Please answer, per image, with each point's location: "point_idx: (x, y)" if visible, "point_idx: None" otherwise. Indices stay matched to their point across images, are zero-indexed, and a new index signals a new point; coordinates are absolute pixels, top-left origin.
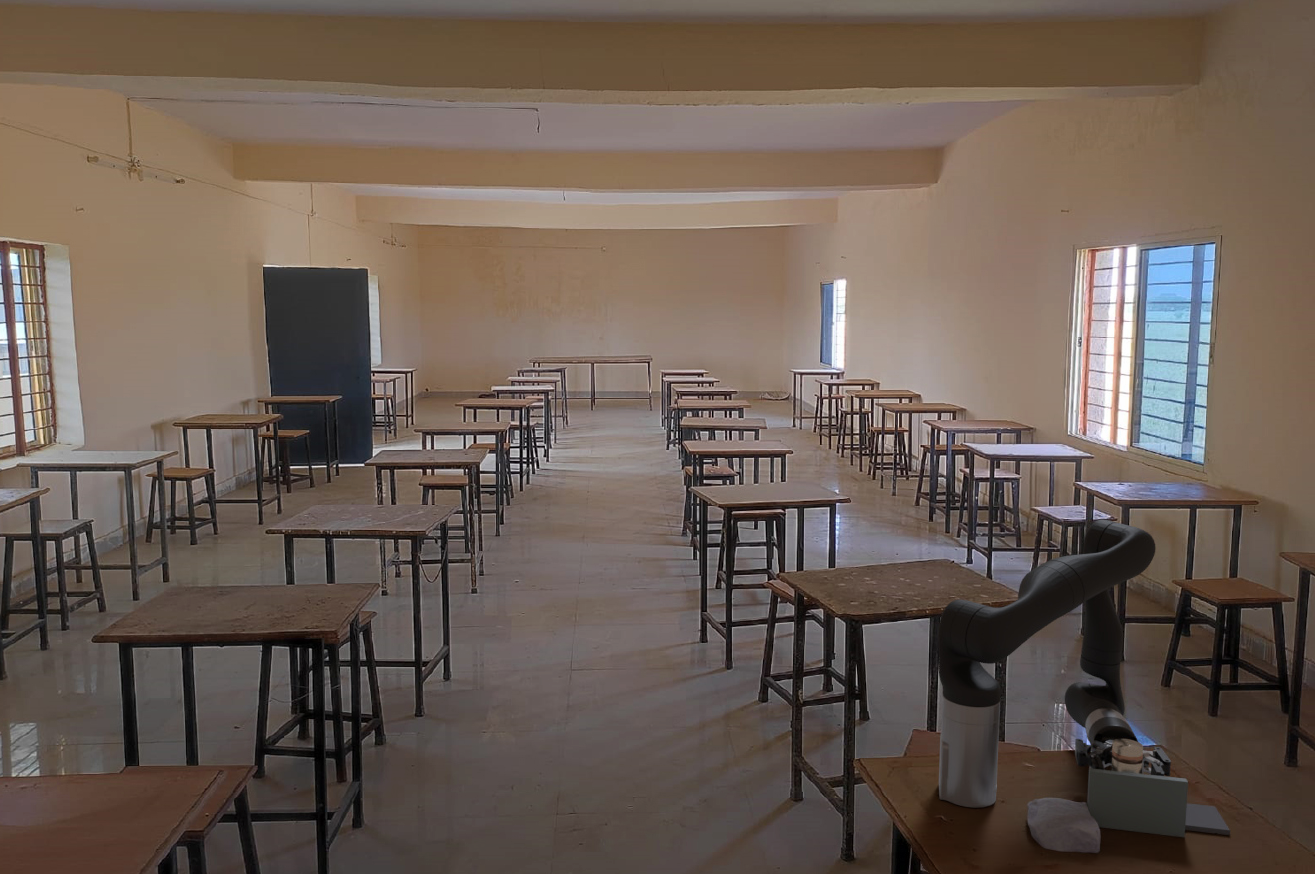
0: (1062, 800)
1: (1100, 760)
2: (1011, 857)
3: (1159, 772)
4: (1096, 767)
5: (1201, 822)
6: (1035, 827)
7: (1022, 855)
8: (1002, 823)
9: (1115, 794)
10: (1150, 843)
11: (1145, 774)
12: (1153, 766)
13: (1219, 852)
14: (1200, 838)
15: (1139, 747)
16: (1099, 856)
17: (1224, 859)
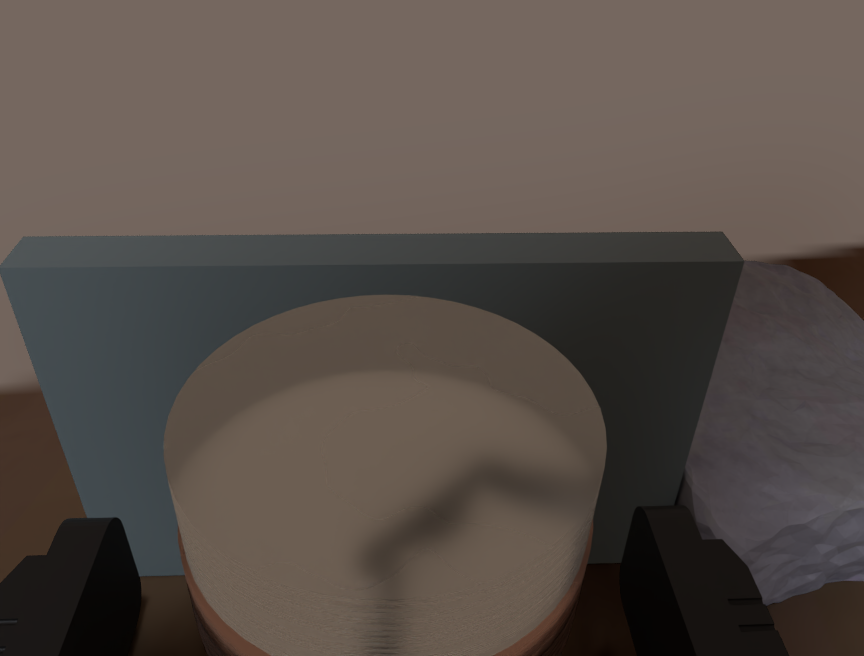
0: (833, 477)
1: (697, 632)
2: (853, 272)
3: (81, 521)
4: (708, 547)
5: None
6: (849, 308)
7: (827, 285)
8: None
9: None
10: None
11: (315, 264)
12: (66, 639)
13: (21, 450)
14: (28, 552)
15: (251, 356)
16: None
17: (41, 406)
